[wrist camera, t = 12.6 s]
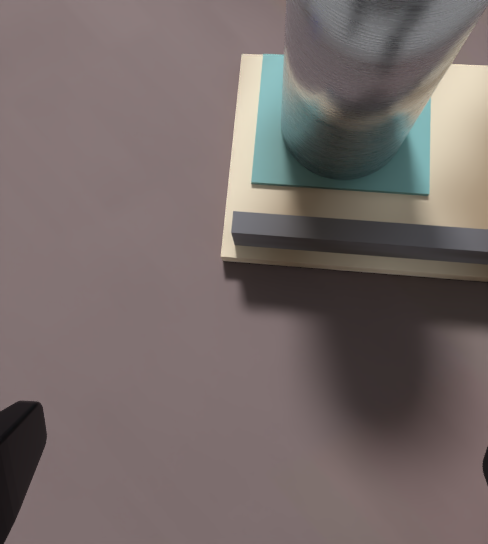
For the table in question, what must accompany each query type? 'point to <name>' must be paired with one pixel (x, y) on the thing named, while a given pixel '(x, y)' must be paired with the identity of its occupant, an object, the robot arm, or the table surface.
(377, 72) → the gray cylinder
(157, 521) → the table surface
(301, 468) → the table surface
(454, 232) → the rail board
